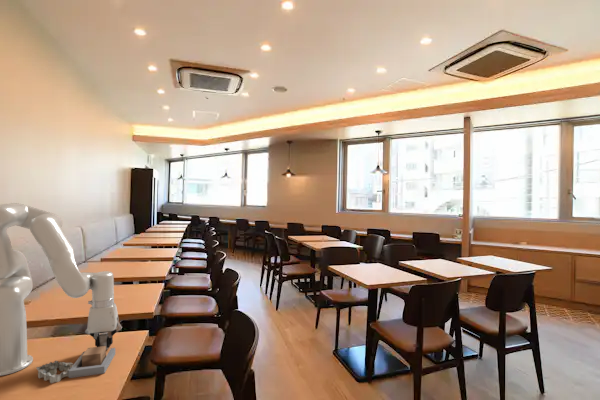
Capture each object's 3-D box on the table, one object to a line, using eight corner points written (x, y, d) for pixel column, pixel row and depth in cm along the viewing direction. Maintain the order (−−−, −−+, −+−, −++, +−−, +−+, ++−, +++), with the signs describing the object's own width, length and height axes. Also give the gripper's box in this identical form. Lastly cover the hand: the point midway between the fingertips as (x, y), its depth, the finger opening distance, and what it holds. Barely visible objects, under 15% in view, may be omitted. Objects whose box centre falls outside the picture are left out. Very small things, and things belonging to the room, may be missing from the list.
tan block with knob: (82, 369, 115) (81, 351, 115) (97, 349, 130) (97, 333, 130) (100, 366, 116) (100, 349, 116) (113, 347, 131) (113, 331, 131)
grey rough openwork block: (75, 374, 112) (75, 363, 112) (51, 386, 106) (50, 374, 105) (59, 366, 117) (58, 355, 117) (34, 377, 110) (34, 365, 110)
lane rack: (68, 378, 110) (68, 371, 109) (83, 357, 123) (83, 351, 122) (104, 373, 113) (104, 366, 112) (115, 353, 126) (115, 347, 125)
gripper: (76, 307, 122) (77, 354, 123) (123, 304, 127) (123, 348, 128) (83, 301, 130) (84, 344, 130) (128, 297, 134) (128, 340, 135)
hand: (104, 346), depth 129 cm, fingers closed on tan block with knob, 3 cm apart
